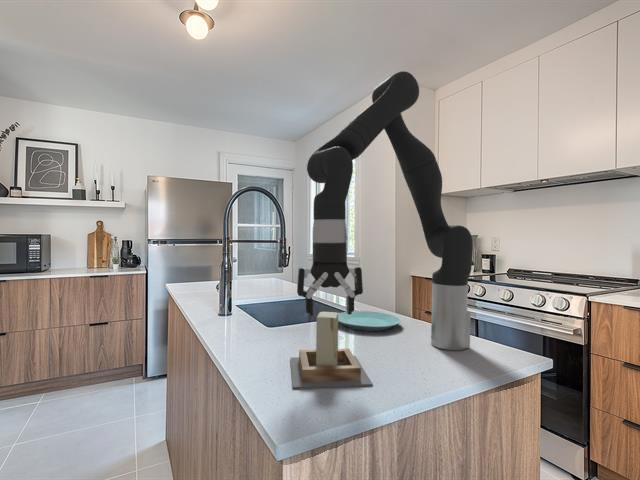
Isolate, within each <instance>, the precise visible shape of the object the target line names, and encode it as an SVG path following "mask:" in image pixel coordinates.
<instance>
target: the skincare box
mask: <svg viewBox="0 0 640 480" xmlns="http://www.w3.org/2000/svg"><path fill="white" fill-rule="evenodd" d="M338 314H339V312H337V311H336V312H335V311H334V312H332V311H320V312H318V315H317V316H316V332H315V333H316V334H315V335H316V337H315V339H316V344H315V345H316V346H315V349H316V367H318V366H337V365H338V349H339V347H338V346H339V321H338Z"/></svg>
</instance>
